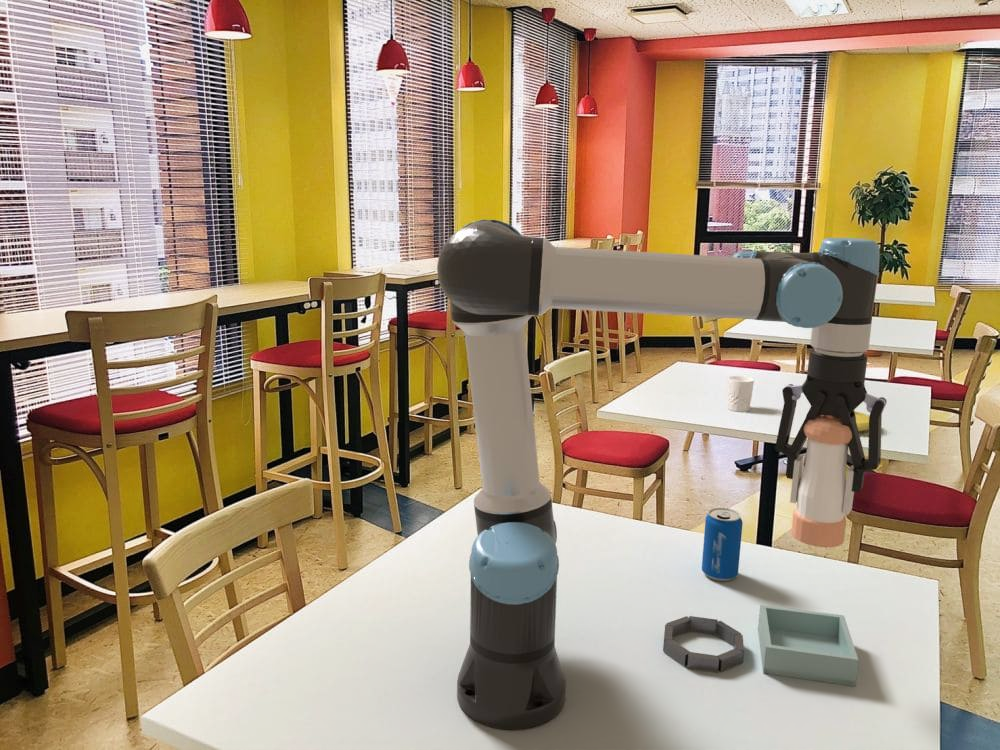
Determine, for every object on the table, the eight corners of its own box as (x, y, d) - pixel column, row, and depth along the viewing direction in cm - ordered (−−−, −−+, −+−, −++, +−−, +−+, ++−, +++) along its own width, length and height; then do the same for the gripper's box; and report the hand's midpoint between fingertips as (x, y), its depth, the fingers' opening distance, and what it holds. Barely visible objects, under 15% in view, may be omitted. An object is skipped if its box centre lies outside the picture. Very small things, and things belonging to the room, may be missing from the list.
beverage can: (697, 577, 149) (702, 516, 146) (706, 563, 154) (711, 504, 152) (733, 586, 146) (738, 523, 143) (741, 571, 151) (746, 511, 149)
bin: (854, 686, 117) (858, 659, 116) (763, 673, 120) (766, 646, 119) (840, 639, 129) (844, 615, 128) (757, 628, 132) (760, 604, 131)
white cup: (720, 407, 262) (722, 377, 259) (739, 404, 265) (742, 374, 263) (737, 413, 255) (739, 382, 253) (756, 411, 258) (759, 380, 256)
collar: (744, 676, 119) (745, 664, 119) (661, 664, 122) (662, 652, 122) (740, 634, 130) (741, 622, 130) (665, 623, 133) (666, 612, 133)
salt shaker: (780, 532, 121) (793, 408, 117) (813, 523, 125) (826, 402, 121) (821, 551, 115) (836, 421, 111) (854, 541, 119) (870, 414, 114)
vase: (880, 438, 233) (884, 414, 231) (823, 434, 235) (825, 411, 234) (865, 422, 248) (868, 400, 247) (811, 419, 251) (814, 397, 249)
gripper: (920, 355, 111) (898, 512, 117) (775, 338, 122) (760, 483, 127) (912, 365, 105) (889, 530, 111) (760, 346, 116) (746, 498, 121)
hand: (820, 505), depth 119 cm, fingers closed on salt shaker, 7 cm apart
